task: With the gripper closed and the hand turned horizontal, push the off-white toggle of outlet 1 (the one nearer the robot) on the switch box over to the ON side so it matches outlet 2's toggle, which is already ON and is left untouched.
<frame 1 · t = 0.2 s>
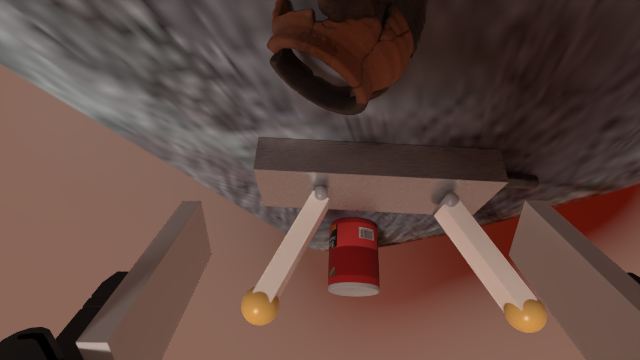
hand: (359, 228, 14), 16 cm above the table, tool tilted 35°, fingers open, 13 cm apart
toggle 2: (485, 260, 35), point 11 cm above the table, hinge at -30.0°
toggle 1: (290, 253, 35), point 11 cm above the table, hinge at 25.0°
switch box: (372, 165, 40), on the table
canned food: (353, 224, 58), on the table
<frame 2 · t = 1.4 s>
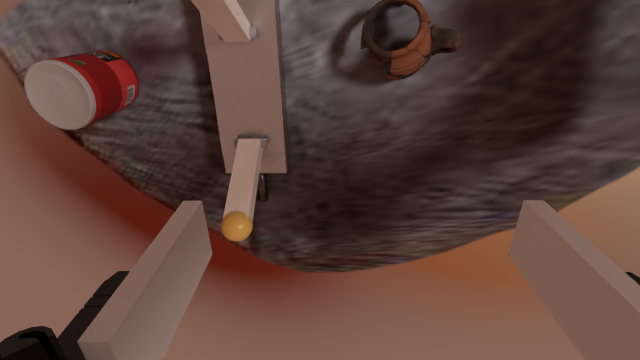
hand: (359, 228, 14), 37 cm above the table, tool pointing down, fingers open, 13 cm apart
toggle 2: (243, 185, 43), point 11 cm above the table, hinge at -30.0°
toggle 1: (218, 6, 34), point 11 cm above the table, hinge at 25.0°
pottery mug: (404, 39, 45), on the table
switch box: (252, 77, 48), on the table
canned food: (114, 79, 49), on the table
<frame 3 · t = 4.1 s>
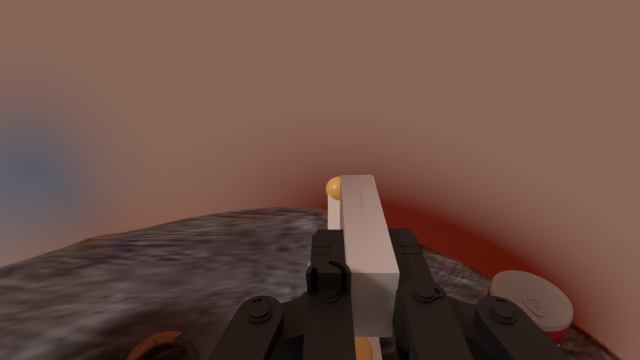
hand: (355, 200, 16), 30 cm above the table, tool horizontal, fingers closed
toggle 2: (338, 231, 47), point 11 cm above the table, hinge at -30.0°
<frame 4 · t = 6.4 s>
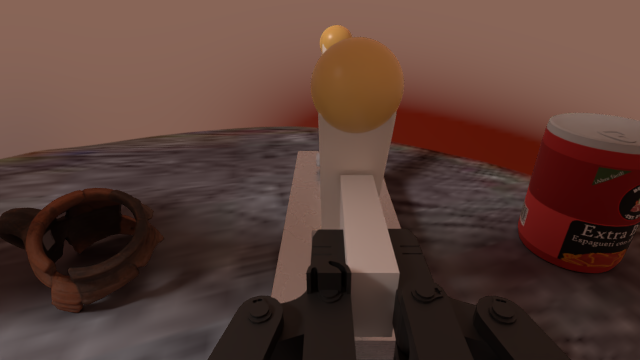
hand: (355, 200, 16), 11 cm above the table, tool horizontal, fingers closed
toggle 2: (336, 95, 36), point 11 cm above the table, hinge at -30.0°
toggle 1: (349, 178, 18), point 11 cm above the table, hinge at 24.9°, touching gripper
pottery mug: (96, 272, 28), on the table
switch box: (339, 245, 31), on the table
canned food: (563, 246, 30), on the table
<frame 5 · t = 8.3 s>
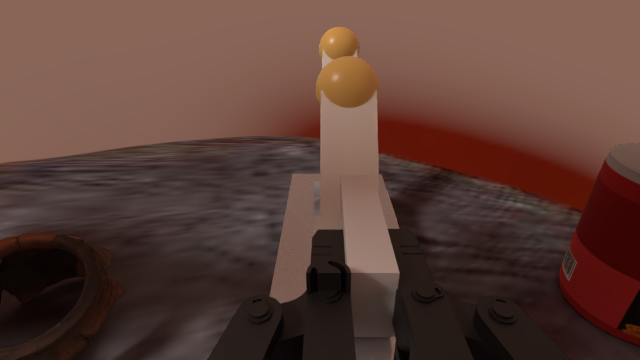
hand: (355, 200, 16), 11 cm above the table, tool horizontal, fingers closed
toggle 2: (339, 112, 30), point 11 cm above the table, hinge at -30.0°
toggle 1: (348, 188, 18), point 10 cm above the table, hinge at -37.0°, touching gripper
pottery mug: (42, 331, 23), on the table
switch box: (341, 301, 25), on the table
canned food: (616, 305, 25), on the table
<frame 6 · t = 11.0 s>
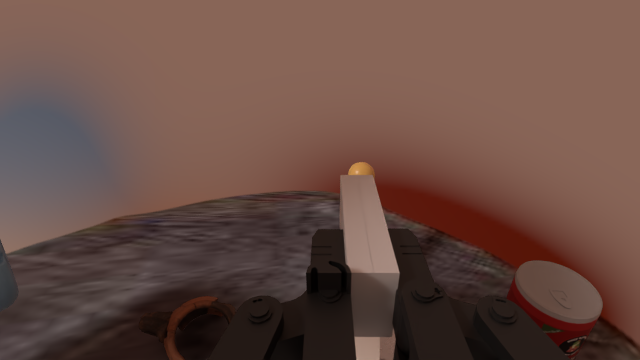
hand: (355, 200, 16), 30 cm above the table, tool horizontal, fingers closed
toggle 2: (360, 216, 47), point 11 cm above the table, hinge at -30.0°
toggle 1: (364, 295, 35), point 10 cm above the table, hinge at -37.1°
pottery mug: (197, 348, 42), on the table
switch box: (359, 342, 42), on the table
canned food: (527, 352, 41), on the table
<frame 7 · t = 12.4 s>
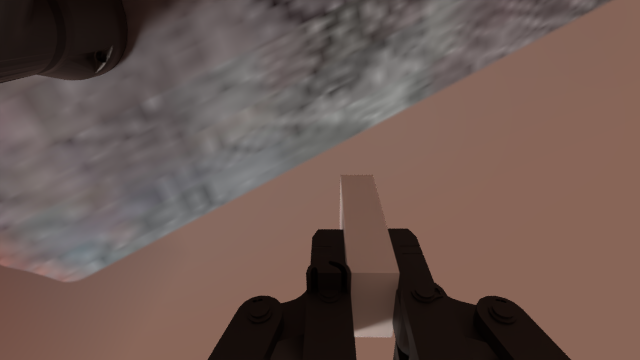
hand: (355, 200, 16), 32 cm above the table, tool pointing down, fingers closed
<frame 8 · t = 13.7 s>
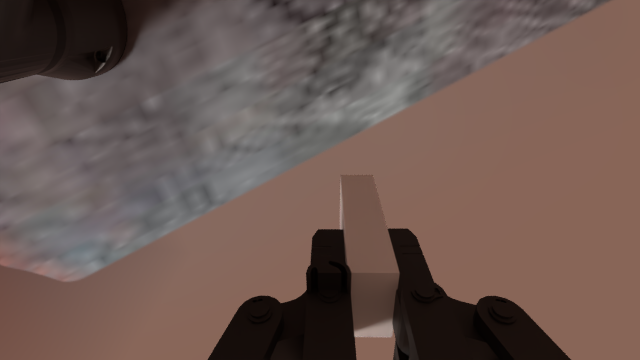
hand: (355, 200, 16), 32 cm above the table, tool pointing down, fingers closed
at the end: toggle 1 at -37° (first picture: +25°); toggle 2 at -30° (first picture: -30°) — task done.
